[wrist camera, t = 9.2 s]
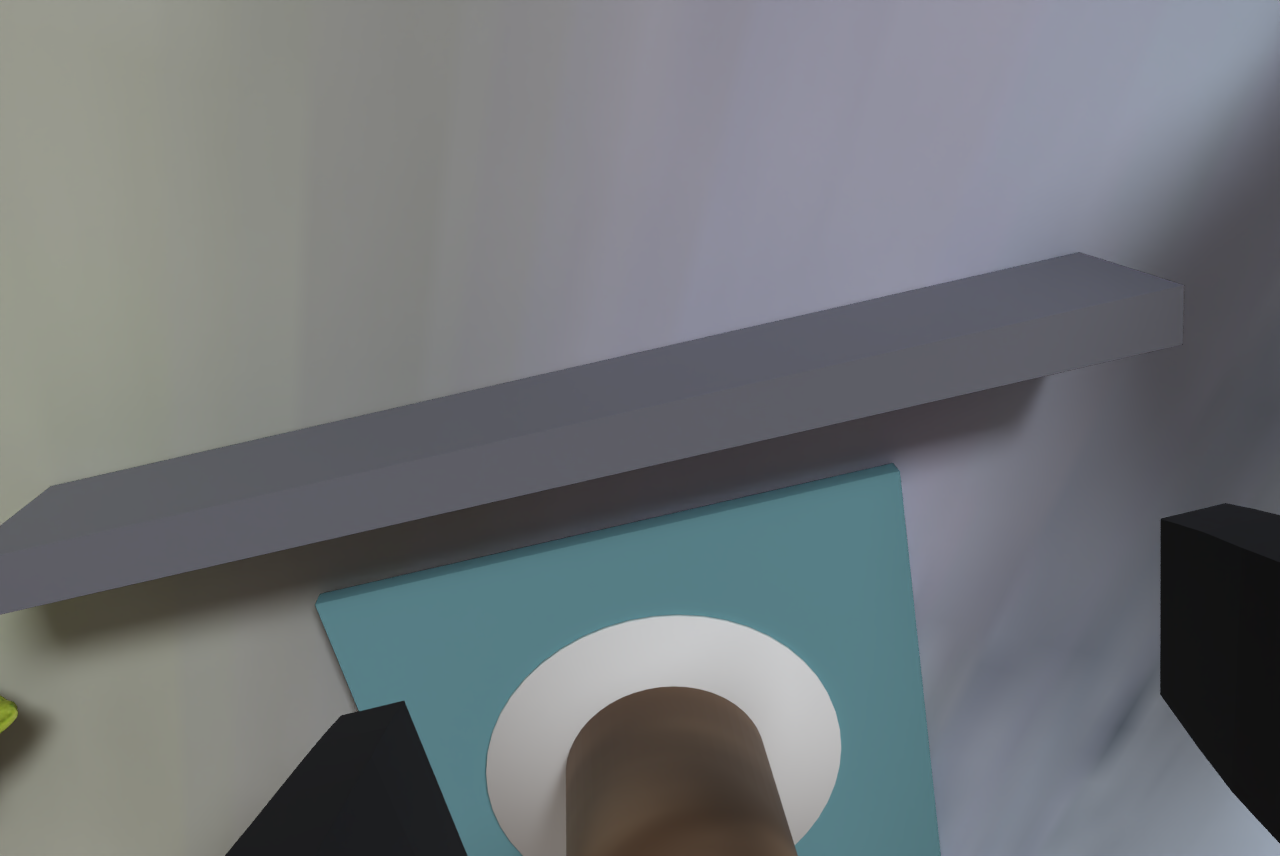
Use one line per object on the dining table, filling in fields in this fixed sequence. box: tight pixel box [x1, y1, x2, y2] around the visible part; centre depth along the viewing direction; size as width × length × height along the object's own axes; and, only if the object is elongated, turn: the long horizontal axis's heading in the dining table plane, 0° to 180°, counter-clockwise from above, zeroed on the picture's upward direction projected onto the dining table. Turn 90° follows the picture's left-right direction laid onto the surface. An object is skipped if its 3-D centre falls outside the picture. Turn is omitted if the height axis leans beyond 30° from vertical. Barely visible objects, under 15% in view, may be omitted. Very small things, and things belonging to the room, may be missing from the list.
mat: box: [315, 463, 941, 856], centre depth 20 cm, size 12×12×1 cm
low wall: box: [0, 252, 1184, 614], centre depth 15 cm, size 20×1×3 cm, turn 102°
